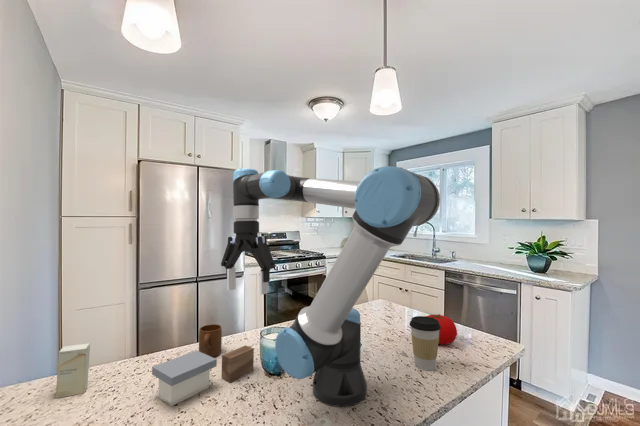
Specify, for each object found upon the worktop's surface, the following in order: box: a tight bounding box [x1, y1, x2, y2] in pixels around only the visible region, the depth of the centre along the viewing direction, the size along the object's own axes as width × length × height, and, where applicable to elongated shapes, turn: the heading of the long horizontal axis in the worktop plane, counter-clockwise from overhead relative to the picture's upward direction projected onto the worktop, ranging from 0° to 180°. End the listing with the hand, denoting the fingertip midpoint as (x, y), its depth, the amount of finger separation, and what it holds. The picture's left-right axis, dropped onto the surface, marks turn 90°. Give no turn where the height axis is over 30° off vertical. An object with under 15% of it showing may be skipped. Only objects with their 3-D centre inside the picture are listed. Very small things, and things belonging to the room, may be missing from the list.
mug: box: [198, 324, 223, 358], centre depth 105 cm, size 12×8×9 cm, turn 9°
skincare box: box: [55, 342, 91, 399], centre depth 83 cm, size 6×4×12 cm
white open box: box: [157, 369, 211, 407], centre depth 83 cm, size 6×11×6 cm, turn 144°
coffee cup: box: [409, 315, 441, 372], centre depth 99 cm, size 10×10×15 cm
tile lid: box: [151, 349, 217, 386], centre depth 83 cm, size 10×13×2 cm
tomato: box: [425, 313, 458, 346], centre depth 120 cm, size 14×13×10 cm
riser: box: [220, 345, 255, 384], centre depth 93 cm, size 4×9×7 cm, turn 144°
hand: (247, 291), depth 90 cm, fingers open, 13 cm apart
